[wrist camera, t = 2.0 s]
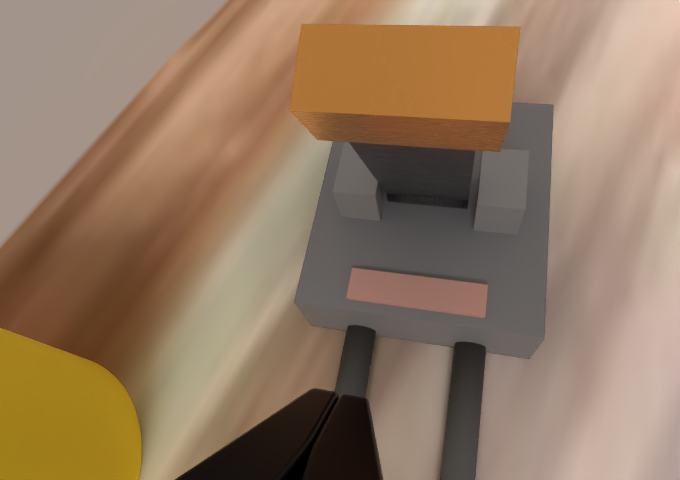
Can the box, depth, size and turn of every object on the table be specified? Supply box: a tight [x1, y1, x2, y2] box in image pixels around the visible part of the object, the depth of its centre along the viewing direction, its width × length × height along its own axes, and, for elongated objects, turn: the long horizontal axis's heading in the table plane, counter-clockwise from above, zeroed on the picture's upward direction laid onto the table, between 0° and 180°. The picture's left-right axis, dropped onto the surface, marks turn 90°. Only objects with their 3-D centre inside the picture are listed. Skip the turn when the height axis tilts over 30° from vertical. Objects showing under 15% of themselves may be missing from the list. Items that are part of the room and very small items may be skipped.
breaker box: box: [294, 103, 553, 359], centre depth 21 cm, size 10×9×5 cm
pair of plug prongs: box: [335, 325, 486, 480], centre depth 19 cm, size 8×6×1 cm
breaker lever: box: [290, 24, 520, 209], centre depth 15 cm, size 2×4×11 cm, turn 78°
